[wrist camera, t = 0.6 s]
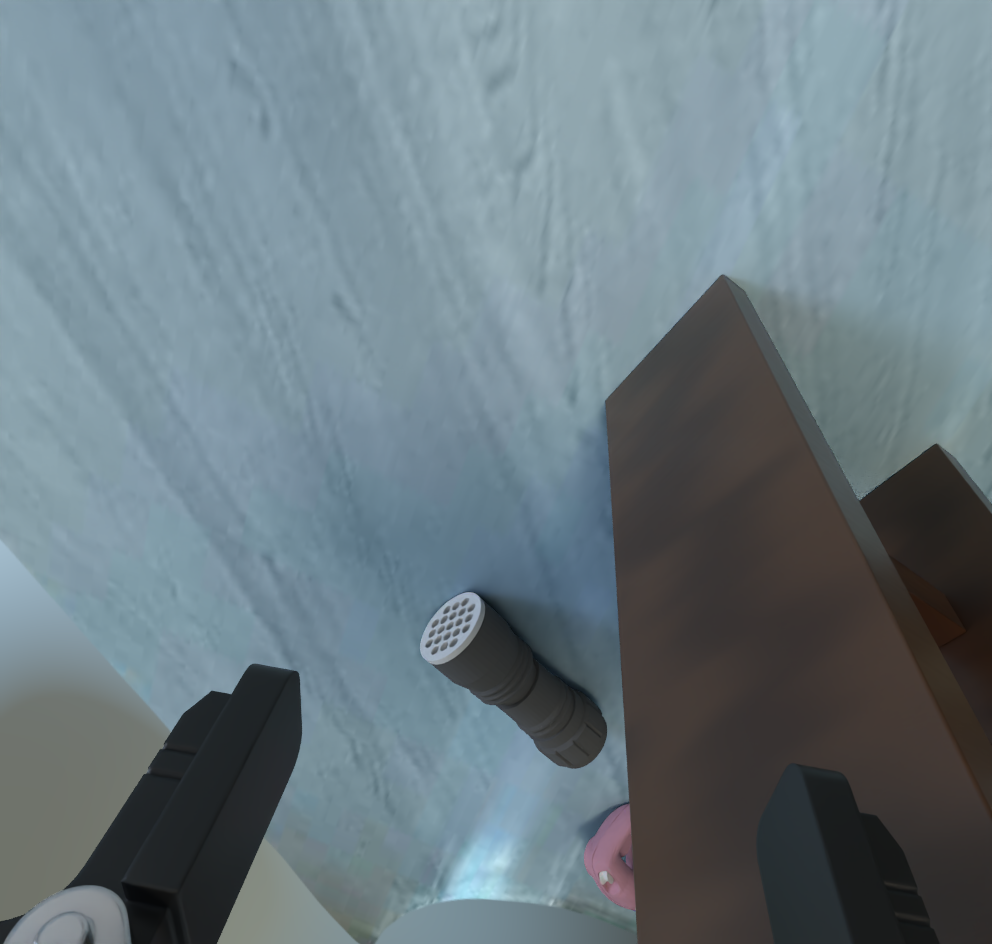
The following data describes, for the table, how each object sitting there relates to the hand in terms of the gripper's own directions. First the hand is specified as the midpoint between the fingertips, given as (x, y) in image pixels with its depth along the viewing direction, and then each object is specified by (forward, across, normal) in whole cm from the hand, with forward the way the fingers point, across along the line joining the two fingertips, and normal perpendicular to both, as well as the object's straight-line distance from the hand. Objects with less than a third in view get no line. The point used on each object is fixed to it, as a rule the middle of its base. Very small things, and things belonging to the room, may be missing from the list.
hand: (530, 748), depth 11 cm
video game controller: (+33, -14, +50) cm, 61 cm away
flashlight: (+30, 0, +28) cm, 41 cm away
